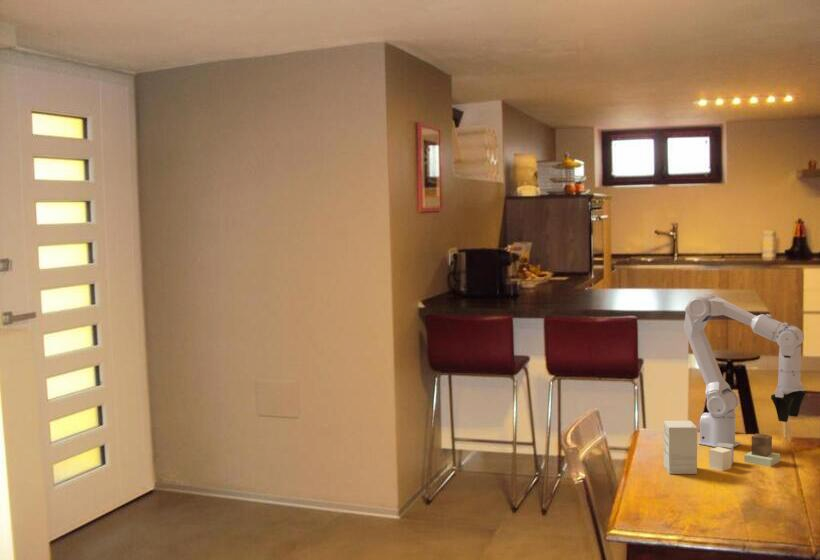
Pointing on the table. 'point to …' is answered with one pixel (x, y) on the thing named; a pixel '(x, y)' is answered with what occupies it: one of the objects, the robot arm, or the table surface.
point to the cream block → (720, 458)
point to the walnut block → (761, 445)
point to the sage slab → (762, 459)
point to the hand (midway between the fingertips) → (788, 418)
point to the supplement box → (680, 447)
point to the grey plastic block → (727, 446)
